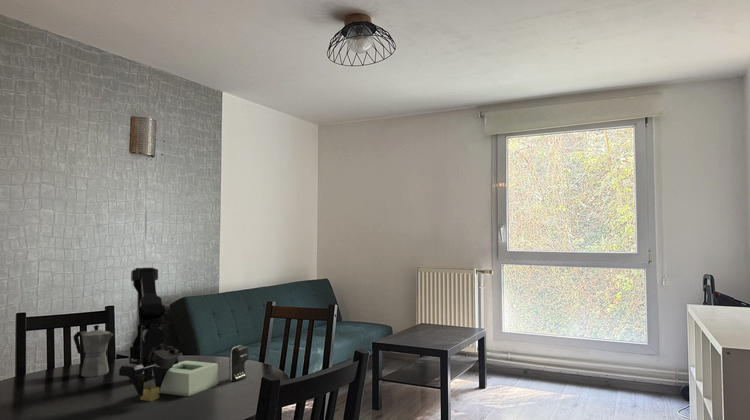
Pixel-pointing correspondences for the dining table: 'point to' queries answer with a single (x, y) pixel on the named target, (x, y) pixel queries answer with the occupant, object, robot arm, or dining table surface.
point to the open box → (189, 378)
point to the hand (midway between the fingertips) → (149, 392)
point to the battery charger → (238, 362)
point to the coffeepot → (94, 351)
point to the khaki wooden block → (150, 393)
